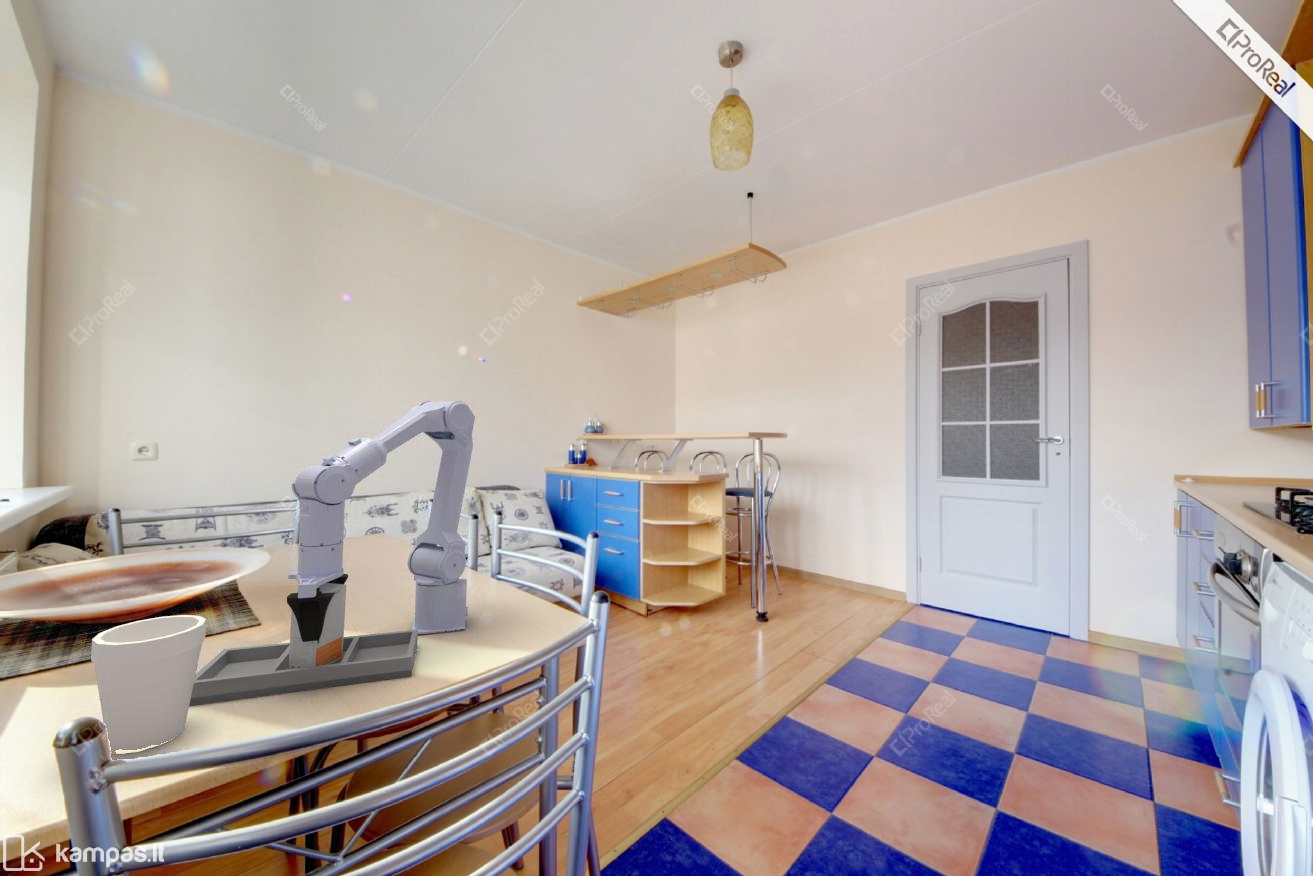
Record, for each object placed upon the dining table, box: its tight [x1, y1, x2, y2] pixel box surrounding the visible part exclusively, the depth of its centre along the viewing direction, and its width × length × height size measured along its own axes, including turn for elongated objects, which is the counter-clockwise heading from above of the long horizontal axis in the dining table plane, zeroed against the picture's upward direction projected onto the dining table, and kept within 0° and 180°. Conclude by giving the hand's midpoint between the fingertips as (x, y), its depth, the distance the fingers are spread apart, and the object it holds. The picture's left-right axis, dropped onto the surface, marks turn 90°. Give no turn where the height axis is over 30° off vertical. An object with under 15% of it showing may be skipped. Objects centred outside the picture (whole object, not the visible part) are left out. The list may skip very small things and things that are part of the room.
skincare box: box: [289, 583, 347, 669], centre depth 76 cm, size 6×4×12 cm
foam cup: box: [90, 614, 207, 756], centre depth 59 cm, size 10×9×13 cm
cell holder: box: [189, 629, 419, 707], centre depth 76 cm, size 27×12×3 cm, turn 112°
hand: (318, 630), depth 76 cm, fingers closed on skincare box, 7 cm apart
